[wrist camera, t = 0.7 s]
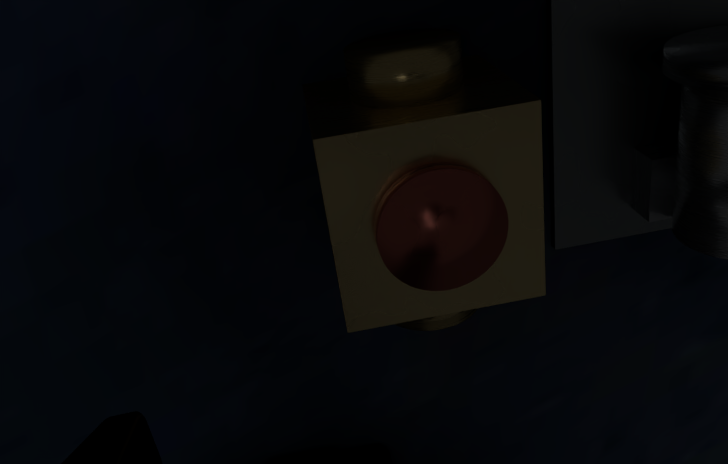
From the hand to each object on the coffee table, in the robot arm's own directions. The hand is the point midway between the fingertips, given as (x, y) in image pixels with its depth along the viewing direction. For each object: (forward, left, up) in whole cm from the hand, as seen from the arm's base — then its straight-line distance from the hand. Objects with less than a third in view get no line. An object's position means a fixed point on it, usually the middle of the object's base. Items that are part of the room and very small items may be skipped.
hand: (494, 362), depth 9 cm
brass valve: (-1, -1, -12) cm, 12 cm away
